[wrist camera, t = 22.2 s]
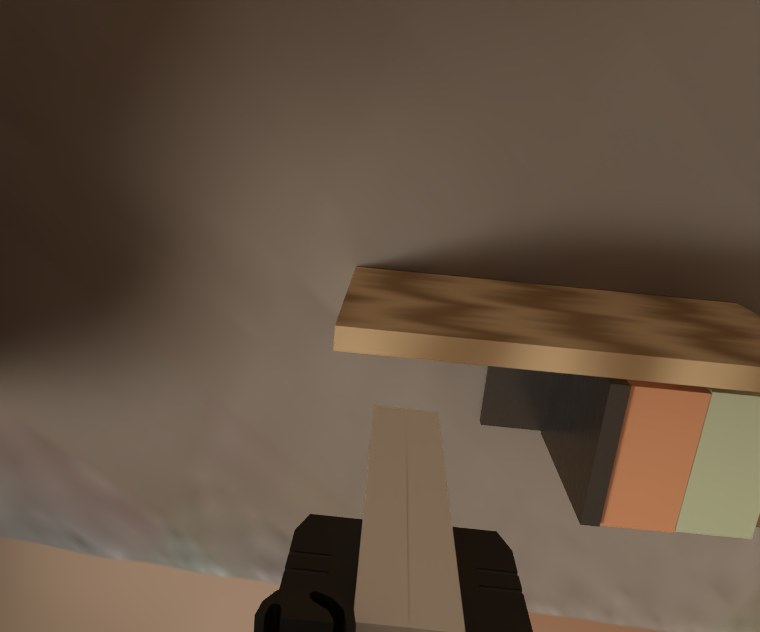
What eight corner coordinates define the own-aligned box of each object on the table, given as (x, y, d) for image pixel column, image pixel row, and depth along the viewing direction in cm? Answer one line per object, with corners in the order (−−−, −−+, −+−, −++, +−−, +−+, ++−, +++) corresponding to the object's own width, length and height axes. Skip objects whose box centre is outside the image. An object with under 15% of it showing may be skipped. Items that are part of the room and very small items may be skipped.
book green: (614, 439, 42) (675, 531, 33) (639, 327, 40) (712, 391, 30) (673, 444, 42) (751, 539, 33) (702, 333, 40) (795, 400, 30)
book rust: (554, 434, 42) (597, 525, 33) (576, 323, 40) (629, 385, 30) (613, 440, 42) (674, 532, 33) (638, 328, 40) (711, 393, 30)
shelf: (344, 419, 43) (320, 528, 31) (355, 266, 39) (335, 325, 28) (716, 456, 42) (832, 580, 31) (759, 305, 39) (906, 381, 28)
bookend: (478, 427, 42) (499, 516, 33) (496, 314, 40) (524, 375, 30) (555, 434, 42) (599, 526, 32) (577, 322, 40) (631, 385, 30)
